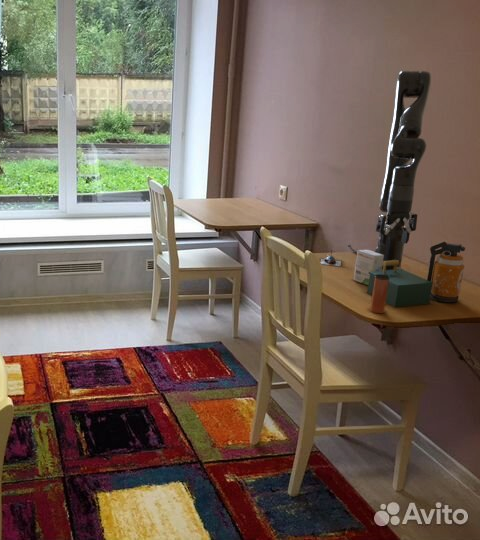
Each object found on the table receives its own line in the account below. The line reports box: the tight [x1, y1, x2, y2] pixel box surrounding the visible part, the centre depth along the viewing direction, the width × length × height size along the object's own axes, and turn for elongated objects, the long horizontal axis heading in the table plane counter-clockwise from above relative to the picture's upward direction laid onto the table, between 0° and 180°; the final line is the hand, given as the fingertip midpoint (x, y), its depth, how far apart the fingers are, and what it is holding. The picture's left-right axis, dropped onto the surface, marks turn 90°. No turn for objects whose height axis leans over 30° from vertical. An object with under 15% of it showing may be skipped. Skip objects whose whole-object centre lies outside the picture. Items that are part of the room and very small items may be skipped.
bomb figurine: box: [320, 249, 342, 267], centre depth 249 cm, size 8×8×6 cm
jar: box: [369, 274, 390, 314], centre depth 196 cm, size 4×4×12 cm
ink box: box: [353, 249, 384, 286], centre depth 223 cm, size 8×5×12 cm, turn 25°
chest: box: [366, 275, 432, 308], centre depth 209 cm, size 15×14×7 cm
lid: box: [368, 260, 433, 288], centre depth 207 cm, size 15×14×5 cm
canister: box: [426, 241, 466, 303], centre depth 206 cm, size 9×11×20 cm
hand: (393, 243), depth 209 cm, fingers open, 8 cm apart
